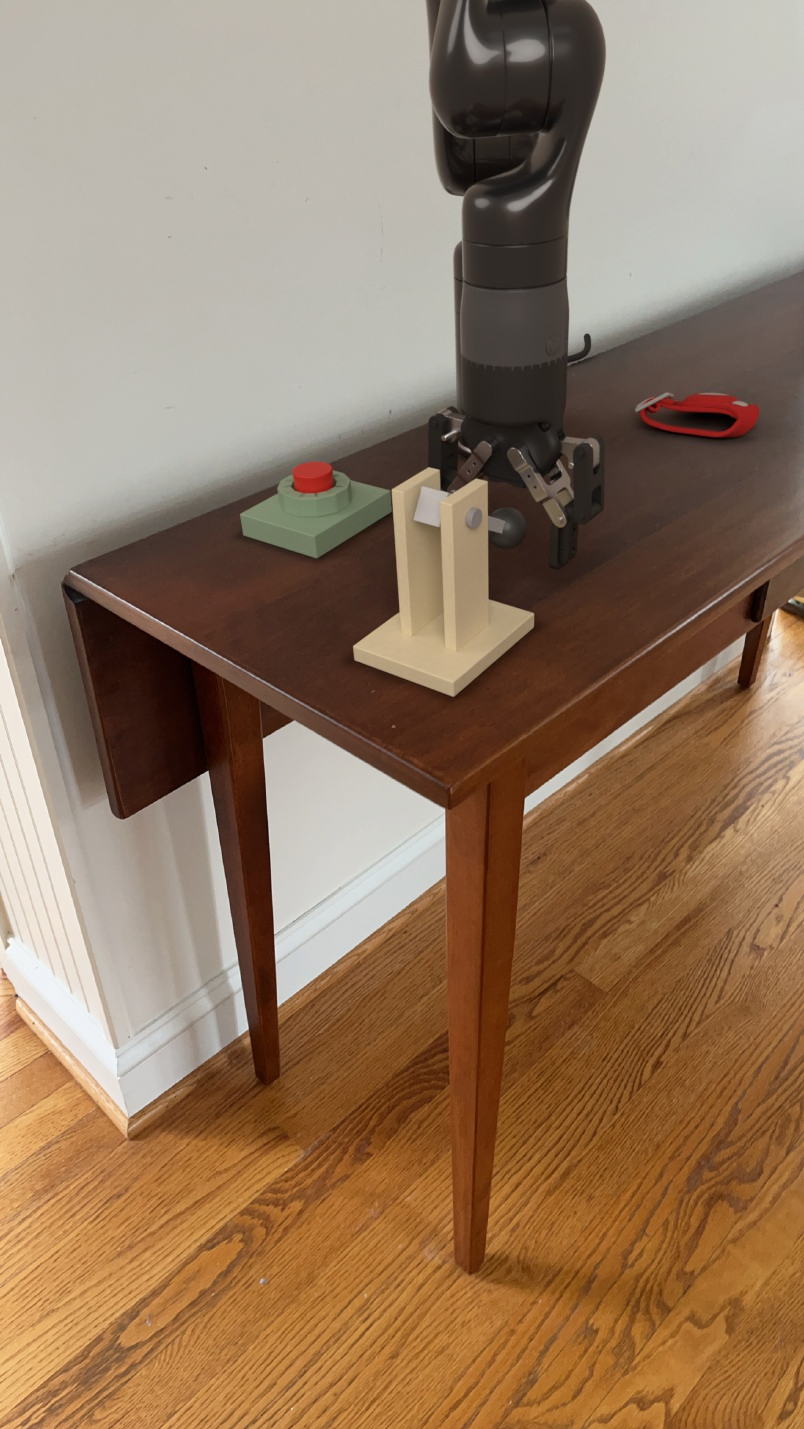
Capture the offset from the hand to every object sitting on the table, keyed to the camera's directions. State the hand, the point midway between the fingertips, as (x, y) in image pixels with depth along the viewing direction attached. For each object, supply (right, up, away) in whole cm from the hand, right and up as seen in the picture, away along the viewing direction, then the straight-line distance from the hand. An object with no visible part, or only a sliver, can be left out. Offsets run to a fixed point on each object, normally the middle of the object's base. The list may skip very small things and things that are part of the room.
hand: (512, 552), depth 81 cm
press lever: (-4, 0, -6) cm, 7 cm away
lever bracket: (-6, -8, -4) cm, 10 cm away
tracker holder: (+23, +18, +29) cm, 41 cm away
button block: (-17, +5, +14) cm, 22 cm away
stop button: (-17, +8, +12) cm, 22 cm away
